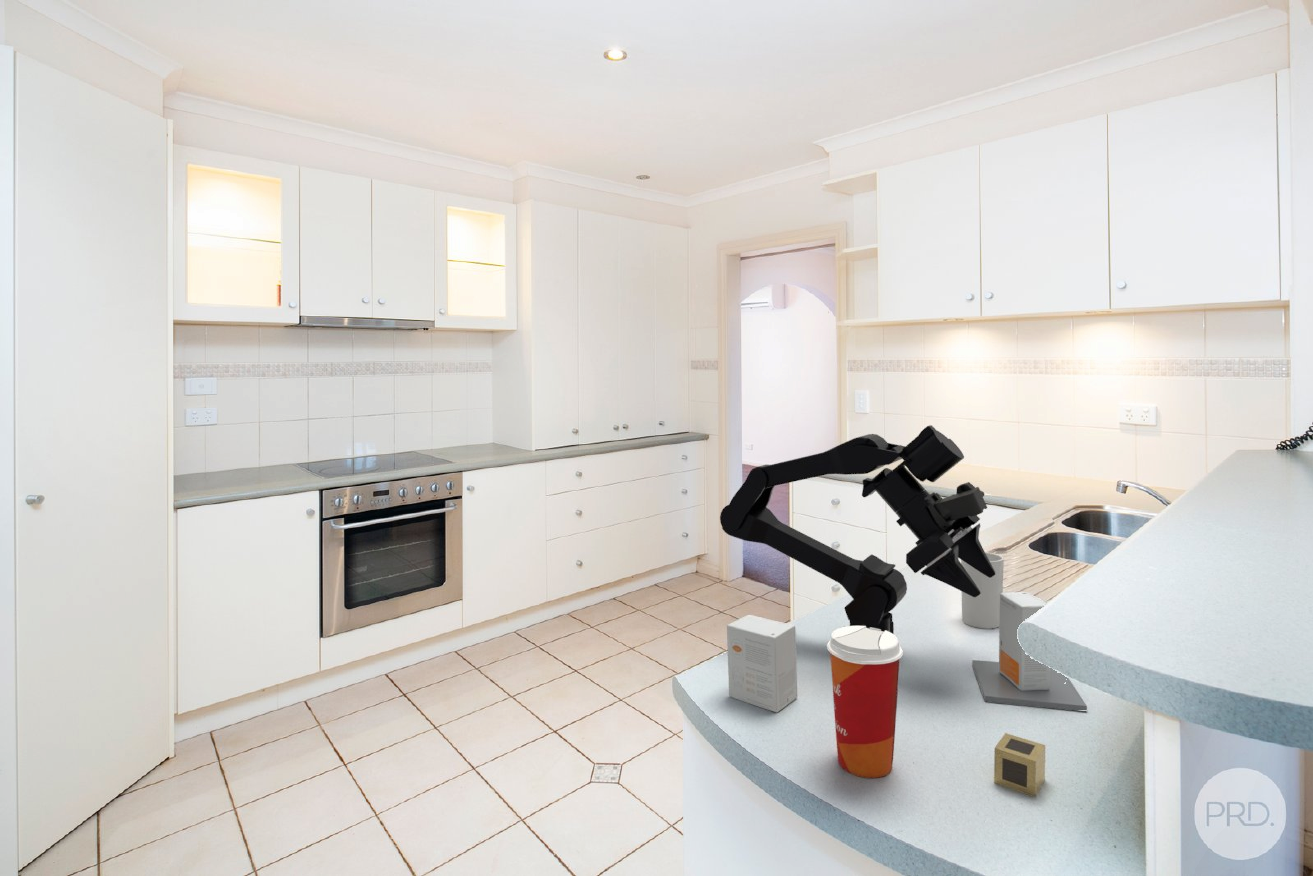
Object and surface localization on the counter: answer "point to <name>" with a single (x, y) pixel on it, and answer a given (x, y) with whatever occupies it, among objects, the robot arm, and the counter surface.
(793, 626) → the small box
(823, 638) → the counter surface
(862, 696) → the coffee cup
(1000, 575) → the mug
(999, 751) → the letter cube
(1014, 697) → the slate pad
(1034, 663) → the skincare box
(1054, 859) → the counter surface
